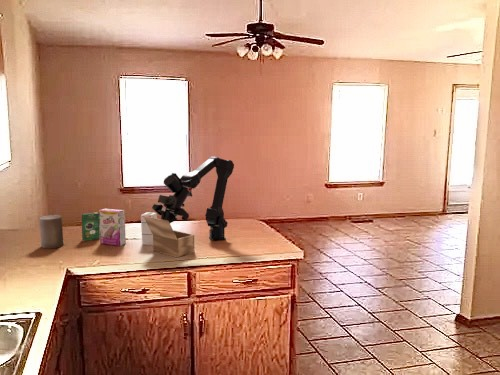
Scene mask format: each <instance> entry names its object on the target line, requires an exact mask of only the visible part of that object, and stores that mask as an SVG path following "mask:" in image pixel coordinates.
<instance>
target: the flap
mask: <svg viewBox="0 0 500 375" xmlns="http://www.w3.org/2000/svg"><path fill="white" fill-rule="evenodd" d="M143 217H144V219H145V221H146V223H147V225H148V227H149V229H150V231H151V233H152V234H154V235H158V236H162V237H167V238H171V239H175V240H177V238H176V235H175V233H174V231H173V230H174V229H173V228H172V225H171V223H169V221H167V220H162V219H161V218H158V217H157V218H153V217H148V216H143Z"/></svg>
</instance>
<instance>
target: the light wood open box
mask: <svg viewBox="0 0 500 375" xmlns="http://www.w3.org/2000/svg"><path fill="white" fill-rule="evenodd" d="M173 231H174V233H175V235H176V238H177V240H175V239H171V238H167V237H162V236H158V235H154V234H153V245H152V249H153V252H156V253H160V254H164V255H167V256H171V257H175V258H181V257H185V256H187V255H190V254H191V255H192V254H195V250H196V249H195V234H193V233H189V232H188V233H187V232H183V231H178V230H175V229H173Z"/></svg>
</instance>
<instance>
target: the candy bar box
mask: <svg viewBox="0 0 500 375" xmlns="http://www.w3.org/2000/svg"><path fill="white" fill-rule="evenodd" d="M125 212H126V211H125V209H116V208H113V209H112V208H102V209H99V210H98V213H99V229H100V239H99V242H100V245H108V246H115V247H116V246H117V247H122V246H124V245H126V243H127V242H126V241H127V240H126V239H127V238H126V237H127V236H126V214H125Z"/></svg>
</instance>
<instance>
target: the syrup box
mask: <svg viewBox="0 0 500 375" xmlns="http://www.w3.org/2000/svg"><path fill="white" fill-rule="evenodd" d="M157 215H158V214H157V213H156V212H152V211H148V212H145V213H142V214H141V215H140V222H141V244H142V245H145V246H153V234H152V233H151V231H150V229H149V227H148V225H147V223H146V221H145V219H144V217H143V216H148V217H153V218H157V219H158V216H157Z"/></svg>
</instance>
